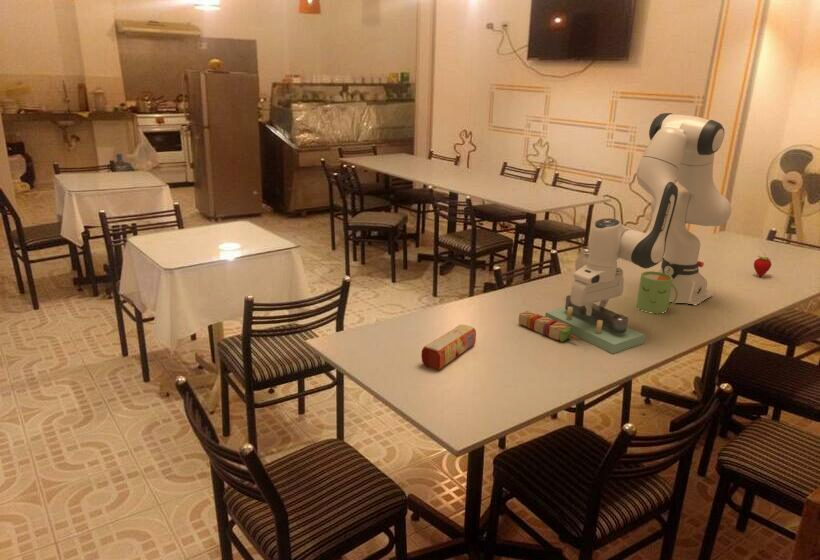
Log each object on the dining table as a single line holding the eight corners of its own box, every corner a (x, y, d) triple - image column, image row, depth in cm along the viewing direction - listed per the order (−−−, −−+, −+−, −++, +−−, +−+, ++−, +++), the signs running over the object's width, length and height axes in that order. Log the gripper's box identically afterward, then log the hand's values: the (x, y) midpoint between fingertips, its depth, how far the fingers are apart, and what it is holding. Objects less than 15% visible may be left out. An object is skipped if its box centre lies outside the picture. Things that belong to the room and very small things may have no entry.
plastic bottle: (573, 297, 221) (579, 244, 214) (591, 301, 218) (598, 247, 211) (567, 302, 216) (574, 248, 209) (586, 306, 212) (593, 252, 206)
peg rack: (574, 312, 207) (577, 293, 205) (643, 343, 185) (647, 322, 183) (544, 320, 200) (546, 300, 198) (612, 353, 178) (615, 332, 176)
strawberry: (747, 276, 247) (752, 252, 244) (756, 273, 251) (762, 250, 248) (762, 280, 243) (768, 256, 239) (771, 277, 247) (777, 253, 243)
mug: (633, 310, 210) (639, 278, 206) (638, 301, 219) (643, 269, 215) (673, 318, 204) (679, 284, 200) (676, 307, 213) (681, 275, 209)
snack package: (458, 340, 185) (459, 320, 183) (477, 346, 182) (479, 325, 179) (419, 366, 169) (420, 344, 166) (440, 373, 165) (441, 351, 163)
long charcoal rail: (571, 305, 201) (572, 294, 200) (629, 330, 183) (631, 318, 182) (562, 308, 199) (563, 296, 198) (619, 334, 181) (621, 321, 179)
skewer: (515, 326, 196) (516, 312, 194) (528, 321, 200) (529, 307, 198) (570, 348, 181) (572, 333, 180) (582, 342, 185) (584, 327, 184)
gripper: (615, 263, 194) (609, 304, 198) (569, 274, 183) (564, 316, 188) (631, 269, 189) (625, 310, 193) (585, 280, 178) (580, 323, 183)
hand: (595, 313), depth 190 cm, fingers closed on long charcoal rail, 3 cm apart
